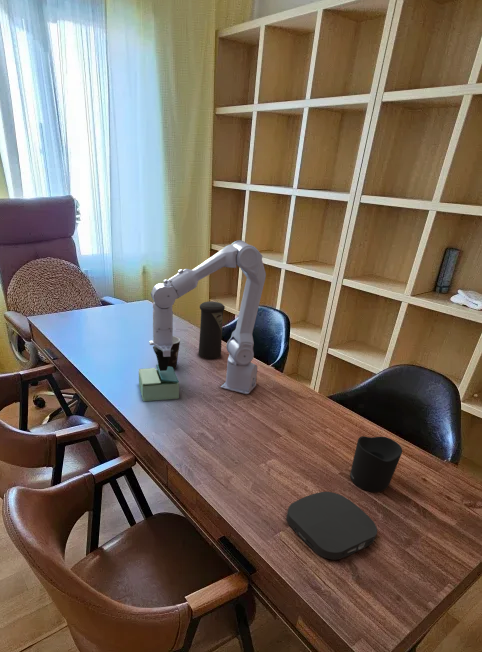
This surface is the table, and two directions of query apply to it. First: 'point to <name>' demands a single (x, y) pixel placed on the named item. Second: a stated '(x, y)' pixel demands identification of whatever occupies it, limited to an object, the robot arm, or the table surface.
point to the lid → (168, 374)
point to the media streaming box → (331, 524)
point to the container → (211, 330)
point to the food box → (156, 386)
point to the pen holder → (374, 463)
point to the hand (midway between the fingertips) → (163, 369)
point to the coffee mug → (174, 353)
